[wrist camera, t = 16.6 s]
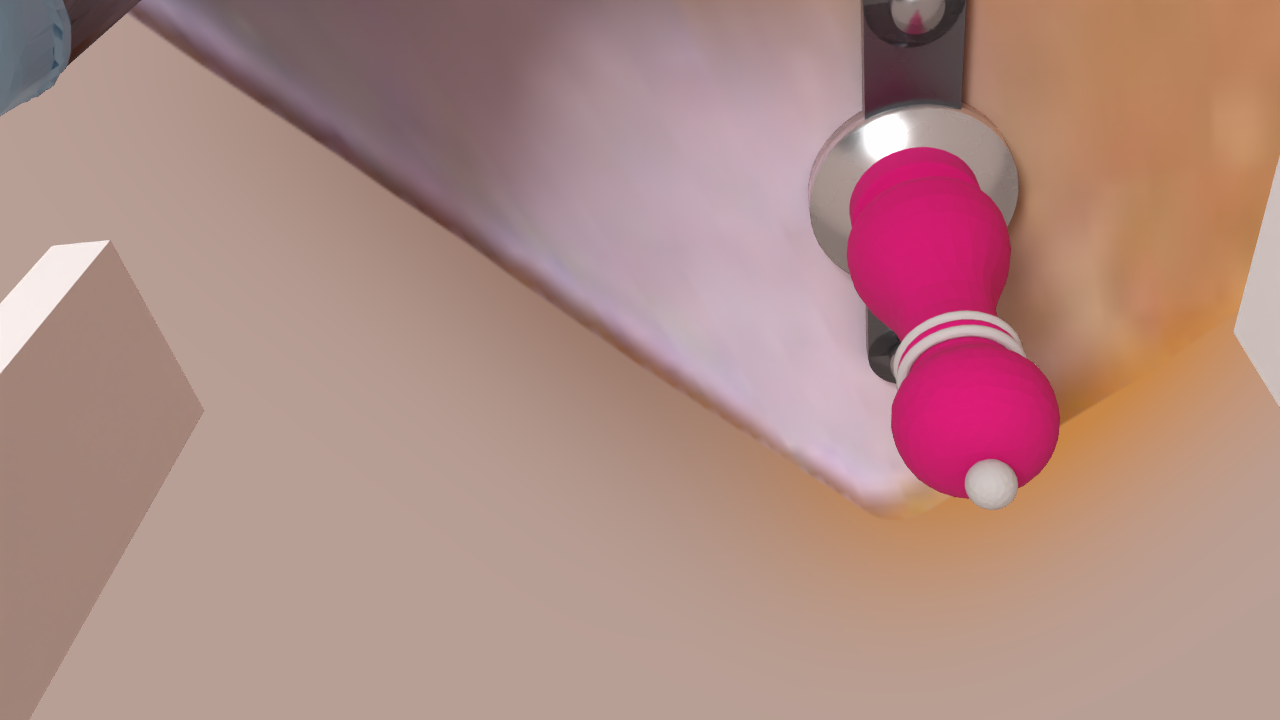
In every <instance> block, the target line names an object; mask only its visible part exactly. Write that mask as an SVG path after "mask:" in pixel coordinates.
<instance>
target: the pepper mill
mask: <svg viewBox="0 0 1280 720" xmlns="http://www.w3.org/2000/svg"><path fill="white" fill-rule="evenodd" d="M849 215H850V220H851V226H852V229H851V231H850V235H849V239H848V244H847V264H848V268H849V272H850V275H851V278H852V281H853V284H854V287H855V289H856V291H857V293H858V295H859V296H860V298H861V299H862V300H863V302H864V303H865V304H866V306H867V307H868V308H869V310H870V311H871V312H872V314H874V315H875V316H876V317H877V318H878V319H879V320H880V321H882V322H883V323H884V324H885V325H886V326H888V327H889V328H890V329H891V330H892V331H894V332H895V333H896V335H897V336H898V338H899V339H900V341H901V344H900V345H899V347H898V349H897V351H896V354H895V358H894V363H893V369H894V376H895V379H896V386H897V391H898V392H897V394H896V396H895V399H894V401H893V404H892V419H891V428H892V433H893V438H894V441H895V445H896V447H897V449H898V452H899V454H900V456H901V457H902V459H903V461H904V462H905V464H906V466H907V467H908V468H909V469H910V470H911V472H912V473H913V474H914V475H915V476H916V477H917V478H918V479H919V480H920V481H922V482H923V483H925V484H926V485H928V486H929V487H931V488H933V489H935V490H937V491H939V492H941V493H944V494H947V495H950V496H953V497H959V498H967V499H971V500H972V501H973V503H975V504H976V505H977V506H979V507H981V508H984V509H989V510H997V509H1000V508H1003V507H1006V506H1007V505H1008V504H1010V503H1011V502H1012V501H1013V499H1014V498H1015V496H1016V493H1017V490H1018V488H1020V487H1022V486H1024V485H1025V484H1026V483H1028V482H1029V481H1030V480H1031V479H1033V478H1034V477H1035V476H1036V475H1038V474H1039V473H1040V472H1041V470H1042V469H1043V468H1044V467H1045V466H1046V464H1047V463H1048V461H1049V459H1050V458H1051V456H1052V454H1053V452H1054V449H1055V447H1056V444H1057V440H1058V435H1059V424H1060V416H1059V408H1058V404H1057V401H1056V397H1055V394H1054V391H1053V389H1052V387H1051V385H1050V383H1049V381H1048V379H1047V378H1046V377H1045V375H1044V374H1043V373H1042V372H1041V371H1040V369H1039V368H1038V367H1037V366H1036V365H1035V364H1034V363H1033V362H1031V361H1029V360H1028V359H1027V357H1026V355H1025V353H1024V351H1023V348H1022V344H1021V341H1020V339H1019V336H1018V335H1017V333H1016V332H1015V331H1014V329H1013V328H1012V327H1011V326H1010V325H1009V324H1007V323H1006V322H1005V321H1003V320H1001V319H1000V318H998V317H997V314H996V306H997V303H998V300H999V297H1000V295H1001V293H1002V291H1003V288H1004V286H1005V284H1006V280H1007V276H1008V271H1009V264H1010V253H1011V247H1010V241H1009V235H1008V230H1007V225H1006V222H1005V220H1004V217H1003V215H1002V212H1001V211H1000V209H999V208H998V206H997V205H996V204H995V203H994V201H993V200H992V199H991V198H990V197H989V196H988V195H987V194H986V193H984V192H983V191H982V190H981V189H980V186H979V184H978V181H977V179H976V176H975V174H974V173H973V171H972V170H971V169H970V167H969V166H968V165H967V164H966V163H965V162H964V161H963V160H962V159H960V158H959V157H958V156H956V155H954V154H951V153H949V152H947V151H945V150H941V149H937V148H931V147H915V148H908V149H904V150H900V151H897V152H894V153H891V154H889V155H887V156H885V157H883V158H882V159H880V160H879V161H877V162H876V163H874V164H873V165H872V166H871V167H870V168H869V169H868V170H866V172H865V173H864V174H863V175H862V176H861V178H860V179H859V181H858V182H857V184H856V186H855V188H854V190H853V192H852V195H851V199H850V205H849Z"/></svg>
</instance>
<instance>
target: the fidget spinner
mask: <svg viewBox="0 0 1280 720" xmlns="http://www.w3.org/2000/svg"><path fill="white" fill-rule="evenodd" d="M965 18H966V0H861V39H862V101H863V111H861V112H859V113H858V114H856V115H855V116H853V117H852V118H850V119H849V120H848V121H846V122H845V123H844V124H843V125H842V126H840V127H839V128H838V129H837V130H836V131H835V132H834V133H833V134H832V136H831V137H830V138H829V139H828V140H827V141H826V143H825V144H824V146H823V147H822V149H821V150H820V152H819V154H818V156H817V158H816V160H815V162H814V165H813V168H812V171H811V174H810V179H809V185H808V201H809V209H810V217H811V224H812V228H813V231H814V234H815V237H816V239H817V241H818V243H819V245H820V246H821V248H822V249H823V251H824V252H825V254H826V255H827V256H828V257H829V258H830V259H831V260H832V261H833V262H834V263H835V264H836V265H838V266H839V267H840V268H841V269H843V270H844V271H846V272H848V273H849V274H850V272H849V268H848V264H847V244H848V239H849V235H850V231H851V229H852V226H851V220H850V215H849V205H850V199H851V195H852V192H853V190H854V188H855V186H856V184H857V182H858V181H859V179H860V178H861V176H862V175H863V174H864V173H865V172H866V170H868V169H869V168H870V167H871V166H872V165H873V164H874V163H876V162H877V161H879V160H880V159H882V158H883V157H885V156H887V155H889V154H891V153H894V152H897V151H900V150H904V149H908V148H915V147H931V148H937V149H941V150H945V151H947V152H949V153H951V154H954V155H956V156H958V157H959V158H960V159H962V160H963V161H964V162H965V163H966V164H967V165H968V166H969V167H970V169H971V170H972V171H973V173H974V174H975V176H976V179H977V181H978V184H979V186H980V189H981V190H982V191H983V192H984V193H986V194H987V195H988V196H989V197H990V198H991V199H992V200H993V201H994V203H995V204H996V205H997V206H998V208H999V209H1000V211H1001V212H1002V215H1003V217H1004V220H1005V222H1006V225H1007V227H1008V225H1009V223H1010V221H1011V219H1012V217H1013V214H1014V211H1015V208H1016V204H1017V198H1018V175H1017V169H1016V166H1015V163H1014V160H1013V157H1012V155H1011V153H1010V151H1009V148H1008V146H1007V144H1006V142H1005V140H1004V138H1003V136H1002V134H1001V133H1000V131H999V130H998V129H997V127H996V126H995V125H994V123H992V122H991V121H990V120H989V119H988V118H987V117H986V116H985V115H984V114H982V113H981V112H980V111H978V110H977V109H975V108H973V107H971V106H969V105H967V104H965V103H963V102H961V101H962V80H963V59H964V38H965ZM900 344H901V341H900V339H899V338H898V336H897V335H896V333H895V332H894V331H892V330H891V329H890V328H889V327H888V326H886V325H885V324H884V323H883V322H882V321H880V320H879V319H878V318H877V317H876V316H875V315H874V314H872V312H871V311H870V310H869V308H868V307H867V306H866V347H867V354H868V360H869V364H870V366H871V368H872V370H873V371H874V372H875V373H876V374H877V375H878V376H879V377H880V378H882V379H884V380H886V381H889V382H892V383H896V379H895V376H894V369H893V363H894V358H895V354H896V351H897V349H898V347H899V345H900Z"/></svg>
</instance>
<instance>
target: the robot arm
mask: <svg viewBox="0 0 1280 720" xmlns="http://www.w3.org/2000/svg"><path fill="white" fill-rule="evenodd" d="M140 1H141V0H0V116H1V115H3V114H4V113H6V112H8V111H9V110H11V109H13V108H15V107H16V106H18V105H20V104H21V103H24V102H28V101H29V100H30V99H31V98H34V97H38V96H39V95H41V94H42V93H43V92H45V90H48V89H50V88H51V87H52V86H54V84H55V82H56V80H57V78H58V76H59V75H60V73H62V72H63V71H64V69H66V67H67V66H68V65H69V64H70V63H71V62H72V61H73V60H75V59H76V58H77V57H78V56H79V55H80V54H81V53H82V52H84V51H85V50H86V49H87V48H88V47H89V46H90V45H91V44H92V43H94V42H95V41H96V40H97V39H98V38H99V37H100V36H101V35H103V34H104V33H105V32H106V31H107V30H108V29H109V28H110V27H112V26H113V25H114V24H115V23H116V22H117V21H118V20H120V19H121V18H122V17H123V16H124V15H125V14H126V13H127V12H129V11H130V10H131V9H132V8H133V7H134V6H135V5H136V4H138V3H139V2H140ZM1233 333H1234V334H1235V336H1236V337H1237V339H1238V340H1239V342H1240V344H1241V345H1242V347H1243V349H1244V350H1245V352H1246V353H1247V355H1248V357H1249V358H1250V360H1251V362H1252V363H1253V365H1254V366H1255V368H1256V370H1257V371H1258V373H1259V375H1260V376H1261V378H1262V379H1263V381H1264V383H1265V384H1266V386H1267V388H1268V389H1269V391H1270V392H1271V394H1272V396H1273V397H1274V399H1275V400H1276V402H1277V404H1278V405H1279V407H1280V157H1279V161H1278V165H1277V168H1276V172H1275V176H1274V180H1273V184H1272V187H1271V191H1270V195H1269V199H1268V203H1267V206H1266V210H1265V214H1264V218H1263V222H1262V225H1261V229H1260V233H1259V237H1258V241H1257V245H1256V248H1255V252H1254V256H1253V260H1252V264H1251V267H1250V271H1249V275H1248V279H1247V283H1246V286H1245V290H1244V294H1243V298H1242V302H1241V305H1240V309H1239V313H1238V317H1237V321H1236V325H1235V328H1234V332H1233ZM203 412H204V409H203V407H202V406H201V404H200V402H199V400H198V398H197V396H196V395H195V393H194V391H193V389H192V387H191V386H190V384H189V382H188V380H187V378H186V376H185V375H184V373H183V371H182V369H181V367H180V366H179V364H178V362H177V360H176V358H175V357H174V355H173V353H172V351H171V349H170V347H169V346H168V344H167V342H166V340H165V339H164V337H163V335H162V333H161V331H160V329H159V327H158V326H157V324H156V322H155V320H154V318H153V317H152V315H151V313H150V311H149V309H148V308H147V306H146V304H145V302H144V300H143V298H142V297H141V295H140V293H139V291H138V289H137V288H136V286H135V284H134V282H133V280H132V279H131V277H130V275H129V273H128V271H127V269H126V268H125V266H124V264H123V262H122V261H121V259H120V257H119V255H118V253H117V251H116V249H115V248H114V246H113V244H112V242H111V240H106V241H96V242H85V243H76V244H66V245H56V246H51V248H50V249H49V250H48V251H47V252H46V253H45V254H44V255H43V257H42V258H41V259H40V260H39V261H38V262H37V263H36V264H35V265H34V267H33V268H32V269H31V270H30V271H29V272H28V273H27V275H26V276H25V277H24V278H23V279H22V280H21V281H20V282H19V283H18V284H17V286H16V287H15V288H14V289H13V290H12V291H11V292H10V293H9V295H8V296H7V297H6V298H5V299H4V300H3V301H2V302H1V303H0V720H29V719H30V717H31V716H32V714H33V712H34V710H35V709H36V707H37V705H38V703H39V701H40V700H41V698H42V696H43V694H44V693H45V691H46V689H47V687H48V686H49V684H50V682H51V680H52V678H53V676H54V675H55V673H56V671H57V670H58V668H59V666H60V664H61V663H62V661H63V659H64V657H65V656H66V654H67V652H68V650H69V648H70V647H71V645H72V643H73V641H74V639H75V638H76V636H77V634H78V633H79V631H80V629H81V627H82V625H83V624H84V622H85V620H86V618H87V617H88V615H89V613H90V611H91V610H92V607H93V606H94V604H95V602H96V601H97V599H98V597H99V595H100V594H101V592H102V590H103V588H104V587H105V585H106V583H107V581H108V580H109V578H110V576H111V574H112V572H113V571H114V569H115V567H116V565H117V564H118V562H119V560H120V558H121V556H122V555H123V553H124V551H125V549H126V548H127V546H128V544H129V542H130V541H131V539H132V537H133V535H134V533H135V532H136V530H137V528H138V527H139V525H140V523H141V521H142V519H143V518H144V516H145V514H146V512H147V510H148V509H149V507H150V505H151V503H152V502H153V500H154V498H155V496H156V495H157V493H158V491H159V489H160V488H161V486H162V484H163V482H164V481H165V479H166V477H167V475H168V473H169V472H170V470H171V468H172V466H173V465H174V463H175V461H176V459H177V458H178V456H179V454H180V452H181V451H182V449H183V447H184V445H185V443H186V441H187V440H188V438H189V436H190V435H191V433H192V431H193V429H194V428H195V426H196V424H197V422H198V420H199V419H200V417H201V415H202V413H203Z"/></svg>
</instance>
